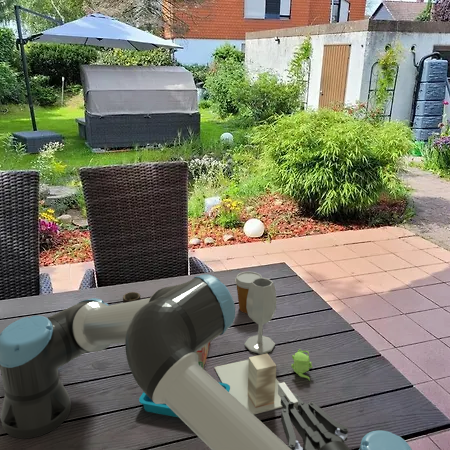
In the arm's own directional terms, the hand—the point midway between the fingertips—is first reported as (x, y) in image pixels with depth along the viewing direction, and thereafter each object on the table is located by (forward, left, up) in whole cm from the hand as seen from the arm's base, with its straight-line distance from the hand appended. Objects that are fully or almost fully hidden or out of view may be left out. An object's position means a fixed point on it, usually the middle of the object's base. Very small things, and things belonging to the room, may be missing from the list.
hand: (281, 387), depth 99 cm
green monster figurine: (+14, +16, -11) cm, 24 cm away
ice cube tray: (-18, +15, -11) cm, 26 cm away
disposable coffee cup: (+14, +52, -11) cm, 55 cm away
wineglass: (+9, +31, -11) cm, 34 cm away
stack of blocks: (-9, +36, -11) cm, 39 cm away
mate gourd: (-24, +59, -11) cm, 64 cm away
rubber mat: (0, +15, -11) cm, 19 cm away
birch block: (0, +10, -11) cm, 14 cm away
